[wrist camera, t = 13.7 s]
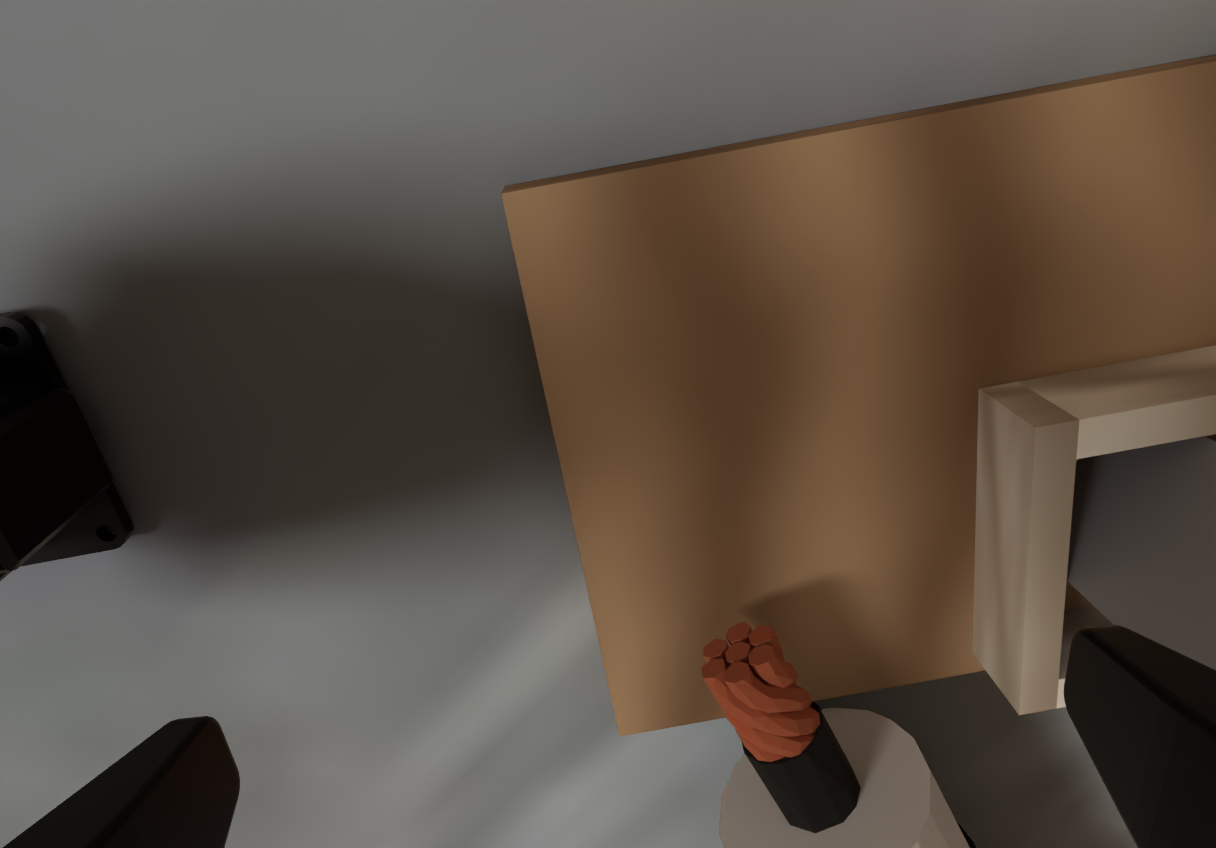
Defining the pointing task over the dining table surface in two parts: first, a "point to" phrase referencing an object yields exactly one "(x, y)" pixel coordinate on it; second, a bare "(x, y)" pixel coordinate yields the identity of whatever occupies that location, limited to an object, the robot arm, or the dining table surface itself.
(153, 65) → the dining table surface
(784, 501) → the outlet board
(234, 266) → the dining table surface
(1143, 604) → the charger
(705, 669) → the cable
